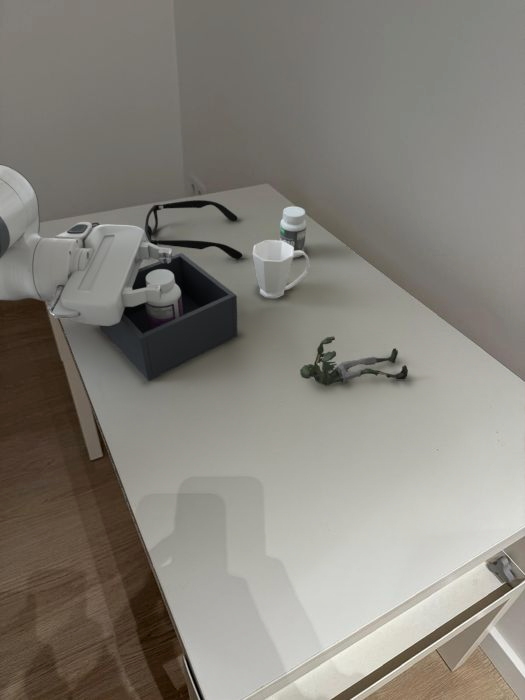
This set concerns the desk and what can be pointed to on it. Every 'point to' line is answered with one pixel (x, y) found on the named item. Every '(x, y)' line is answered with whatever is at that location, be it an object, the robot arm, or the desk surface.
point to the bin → (177, 321)
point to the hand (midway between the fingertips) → (166, 273)
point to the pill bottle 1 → (163, 299)
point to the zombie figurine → (345, 367)
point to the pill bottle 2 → (293, 228)
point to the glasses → (190, 243)
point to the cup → (275, 267)
